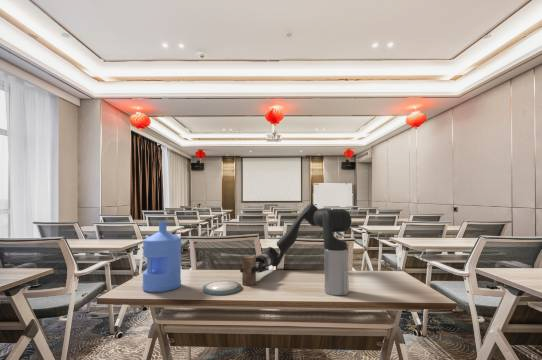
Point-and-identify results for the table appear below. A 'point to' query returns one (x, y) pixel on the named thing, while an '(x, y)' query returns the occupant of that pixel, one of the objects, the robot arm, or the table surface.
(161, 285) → the water jug
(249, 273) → the walnut block
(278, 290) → the table surface
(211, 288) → the teal dish
